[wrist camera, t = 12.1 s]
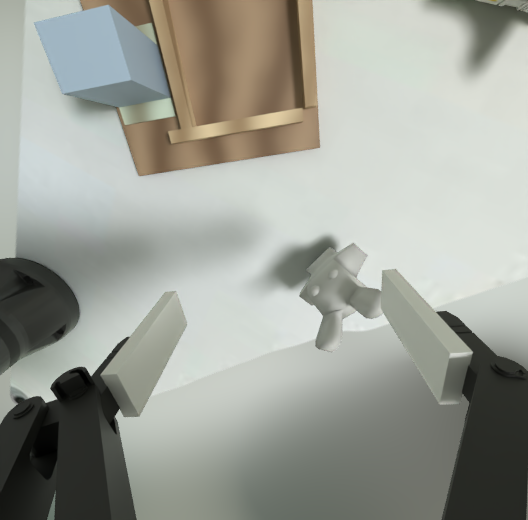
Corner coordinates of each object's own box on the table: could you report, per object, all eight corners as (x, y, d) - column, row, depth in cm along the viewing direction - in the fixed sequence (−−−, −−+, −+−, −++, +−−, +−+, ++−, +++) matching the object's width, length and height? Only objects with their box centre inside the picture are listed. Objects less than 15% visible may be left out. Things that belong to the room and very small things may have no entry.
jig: (143, 175, 32) (131, 177, 29) (76, -30, 24) (51, -52, 22) (318, 147, 30) (322, 147, 27) (305, -89, 22) (309, -122, 19)
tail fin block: (119, 107, 28) (62, 93, 20) (102, 57, 26) (33, 22, 19) (170, 97, 27) (131, 80, 20) (157, 45, 25) (108, 4, 18)
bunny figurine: (313, 291, 38) (334, 373, 24) (288, 271, 37) (294, 346, 23) (362, 246, 34) (417, 312, 21) (335, 223, 33) (375, 277, 20)
